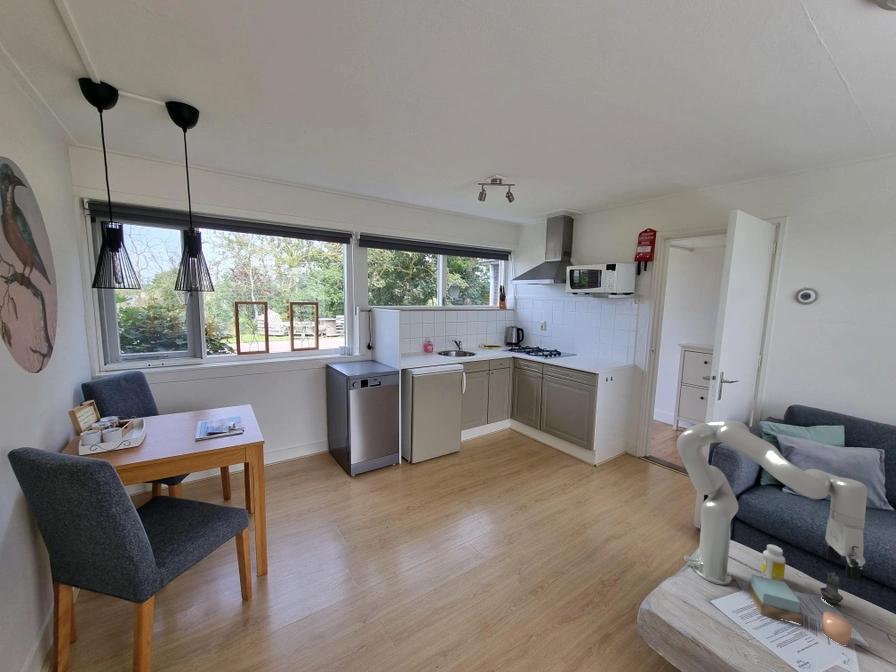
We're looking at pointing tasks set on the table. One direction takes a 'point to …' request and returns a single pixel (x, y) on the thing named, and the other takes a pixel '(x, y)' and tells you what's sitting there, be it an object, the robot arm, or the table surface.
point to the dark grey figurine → (832, 591)
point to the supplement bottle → (773, 563)
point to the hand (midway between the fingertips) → (842, 568)
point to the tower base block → (774, 609)
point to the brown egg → (837, 628)
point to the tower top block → (775, 593)
